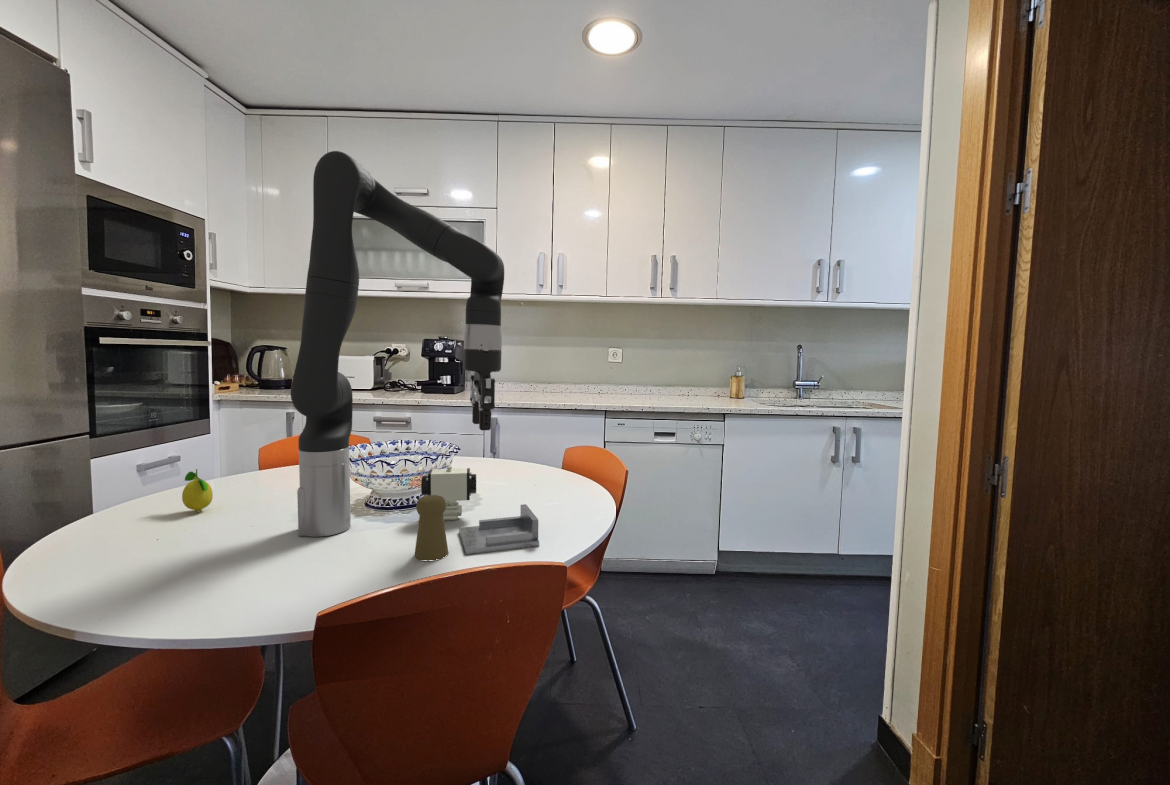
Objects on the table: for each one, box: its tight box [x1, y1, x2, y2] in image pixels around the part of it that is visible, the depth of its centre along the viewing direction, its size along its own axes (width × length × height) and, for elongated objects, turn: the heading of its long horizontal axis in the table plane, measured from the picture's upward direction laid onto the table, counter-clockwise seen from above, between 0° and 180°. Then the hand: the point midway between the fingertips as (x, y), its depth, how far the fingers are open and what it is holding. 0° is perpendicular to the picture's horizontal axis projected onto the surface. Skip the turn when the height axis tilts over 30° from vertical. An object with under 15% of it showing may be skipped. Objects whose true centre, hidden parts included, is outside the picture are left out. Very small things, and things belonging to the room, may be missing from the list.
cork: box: [413, 495, 449, 561], centre depth 91 cm, size 6×6×11 cm
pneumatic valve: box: [420, 465, 477, 522], centre depth 112 cm, size 6×12×12 cm, turn 102°
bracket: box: [458, 503, 540, 555], centre depth 100 cm, size 14×12×5 cm
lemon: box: [181, 468, 214, 512], centre depth 113 cm, size 7×6×10 cm
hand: (481, 426), depth 102 cm, fingers open, 8 cm apart
